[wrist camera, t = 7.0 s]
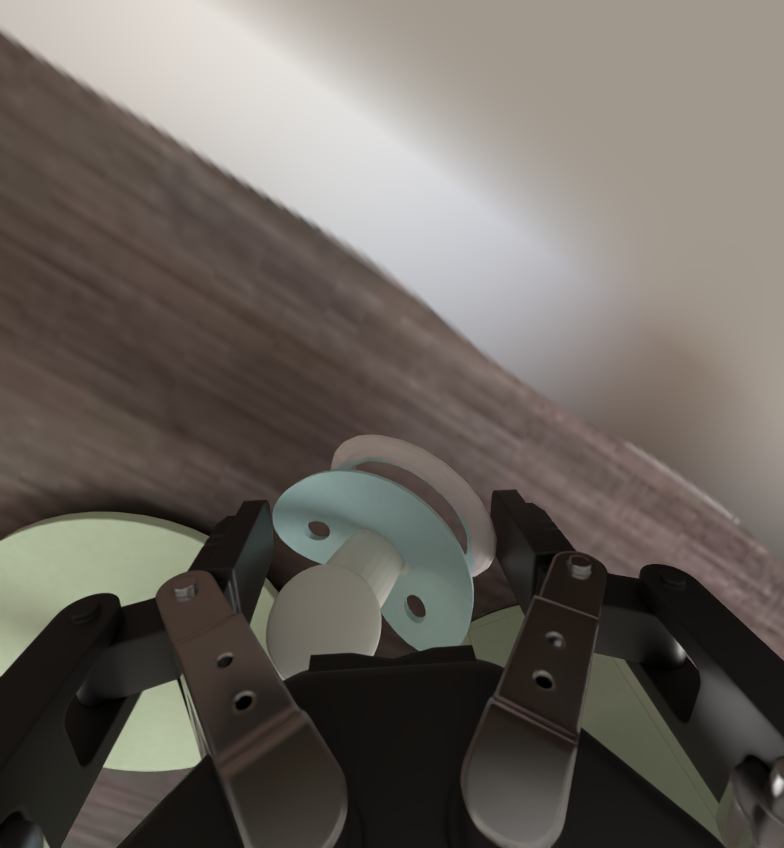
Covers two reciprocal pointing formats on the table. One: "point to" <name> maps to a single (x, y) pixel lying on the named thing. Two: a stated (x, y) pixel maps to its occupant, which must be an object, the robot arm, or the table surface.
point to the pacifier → (375, 557)
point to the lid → (132, 582)
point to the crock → (615, 718)
